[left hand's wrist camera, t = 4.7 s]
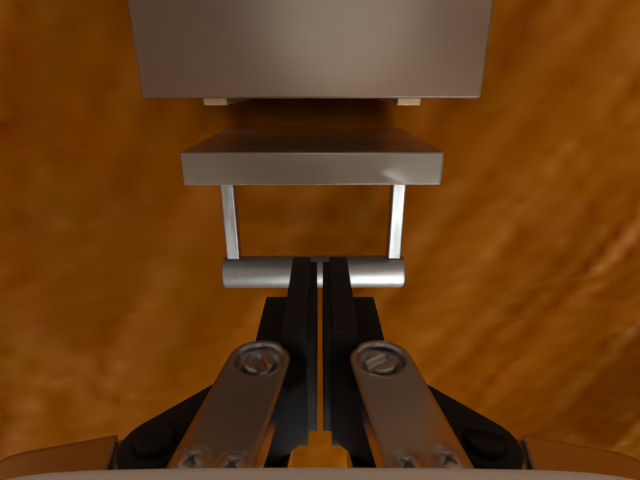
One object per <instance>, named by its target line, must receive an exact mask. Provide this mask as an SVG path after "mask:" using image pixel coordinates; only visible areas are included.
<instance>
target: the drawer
mask: <svg viewBox="0 0 640 480" xmlns="http://www.w3.org/2000/svg"><path fill="white" fill-rule="evenodd" d="M249 99H377V100H381V101H384V102H388V103H392V104H395V105H420V101H421V98H203V100H204V105H229V104H233V103H237V102H241V101H245V100H249ZM443 157H444V152H442V151H441V150H439V149H437V148H435V147H433V146H431V145H430V144H428V143H426V142H424V141H422V140H420V139H418V138H417V137H415V136H413V135H411V134H409V133H407V132H405V131H404V130H402V129H400V128H227V129H225V130H223V131H221V132H219V133H217V134H216V135H214V136H212V137H210V138H208V139H206V140H204V141H202V142H200V143H198V144H196V145H194V146H192V147H190V148H188V149H186V150H185V151H183V152H181V162H182V170H183V178H184V184H185V185H220V189H221V200H222V211H223V221H224V232H225V243H226V253H227V256H226V257H225V258H224V260H223V264H222V281H223V285H224V287H225V288H289V281H290V274H291V268H292V261H293V257H310V258H311V262H317V288H320V287H323V262H329V258H330V257H347V261H348V268H349V274H350V281H351V287H402V286H403V285H404V282H405V263H404V259H403V257H402V256H401V255H400V254H401V242H402V230H403V217H404V205H405V193H406V185H439V184H440V183H441V175H442V166H443ZM236 185H391V187H390V202H389V217H388V232H387V247H386V255H376V256H241V244H240V231H239V218H238V206H237V193H236Z"/></svg>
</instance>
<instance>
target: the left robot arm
mask: <svg viewBox="0 0 640 480" xmlns="http://www.w3.org/2000/svg"><path fill="white" fill-rule="evenodd" d="M308 431H317V262H311V258H310V257H293V261H292V268H291V274H290V281H289V288H288V294H287V297H267V298H266V301H265V305H264V309H263V313H262V317H261V321H260V325H259V329H258V333H257V337H256V341H253V342H249V343H246V344H244V345H241V346H240V347H238V348H237V349H235V350H234V351H233V352H232V353H231V355H230V356H229V357H228V359H227V361H226V363H225V365H224V366H223V368H222V370H221V372H220V373H219V375H218V377H217V379H216V380H215V382H214V384H213V385H211V386H209V387H207V388H206V389H204V390H202V391H200V392H199V393H197V394H195V395H193V396H191V397H190V398H188V399H186V400H184V401H183V402H181V403H179V404H177V405H175V406H174V407H172V408H170V409H168V410H167V411H165V412H163V413H161V414H160V415H158V416H156V417H154V418H152V419H151V420H149V421H147V422H145V423H144V424H142V425H140V426H139V427H137V428H136V429H135V430H133V431H132V432H131V433H130V434H129V435H128V436H127V437H126V438H125V439H124V440H121V441H118V437H117V435H114V436H109V437H103V438H98V439H92V440H87V441H81V442H76V443H70V444H65V445H60V446H54V447H49V448H43V449H38V450H32V451H27V452H22V453H19V454H15V455H12V456H9V457H7V458H5V459H3V460H1V461H0V480H640V461H639V460H637V459H635V458H633V457H631V456H628V455H625V454H621V453H618V452H613V451H608V450H602V449H597V448H591V447H586V446H580V445H575V444H570V443H564V442H559V441H553V440H548V439H542V438H537V437H531V436H526V435H523V437H522V441H519V440H516V439H515V438H514V437H513V436H512V435H511V434H510V433H509V432H508V431H507V430H505V429H504V428H503V427H501V426H500V425H498V424H496V423H495V422H493V421H491V420H489V419H488V418H486V417H484V416H482V415H480V414H479V413H477V412H475V411H473V410H472V409H470V408H468V407H466V406H465V405H463V404H461V403H459V402H457V401H456V400H454V399H452V398H450V397H449V396H447V395H445V394H443V393H441V392H440V391H438V390H436V389H434V388H433V387H431V386H429V385H427V384H426V382H425V380H424V379H423V377H422V375H421V373H420V372H419V370H418V368H417V366H416V365H415V363H414V361H413V359H412V357H411V356H410V355H409V353H408V352H407V351H406V350H405V349H403V348H402V347H400V346H399V345H396V344H394V343H391V342H387V341H384V337H383V333H382V329H381V325H380V321H379V317H378V313H377V309H376V305H375V301H374V298H373V297H353V294H352V288H351V281H350V274H349V268H348V261H347V257H330V258H329V262H323V431H332V445H341V446H342V447H343V448H344V449H346V450H347V465H348V468H292V465H293V450H294V449H296V448H297V447H298V446H299V445H308Z"/></svg>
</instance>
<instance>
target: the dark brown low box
mask: <svg viewBox="0 0 640 480" xmlns="http://www.w3.org/2000/svg"><path fill="white" fill-rule="evenodd" d="M493 1H494V0H128V6H129V13H130V19H131V26H132V32H133V39H134V45H135V52H136V58H137V65H138V71H139V78H140V84H141V91H142V96H143V98H479V97H480V94H481V87H482V80H483V73H484V65H485V58H486V51H487V44H488V37H489V30H490V22H491V15H492V8H493Z"/></svg>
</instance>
